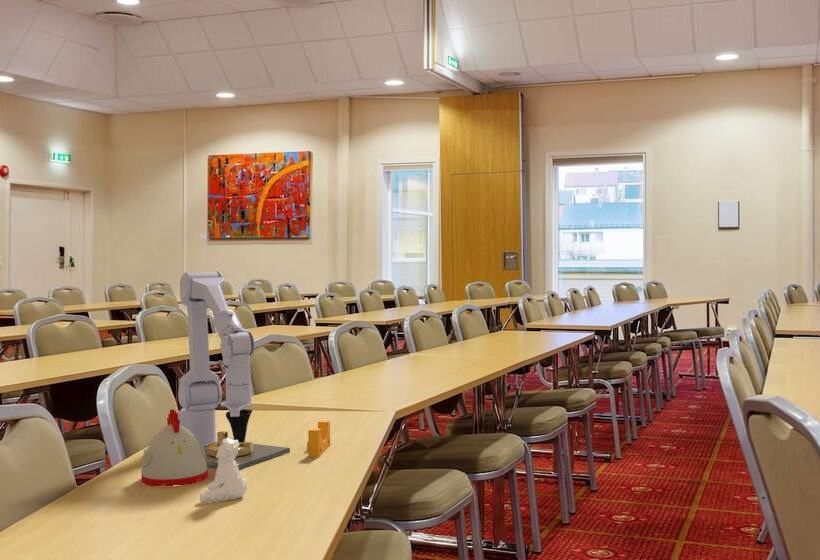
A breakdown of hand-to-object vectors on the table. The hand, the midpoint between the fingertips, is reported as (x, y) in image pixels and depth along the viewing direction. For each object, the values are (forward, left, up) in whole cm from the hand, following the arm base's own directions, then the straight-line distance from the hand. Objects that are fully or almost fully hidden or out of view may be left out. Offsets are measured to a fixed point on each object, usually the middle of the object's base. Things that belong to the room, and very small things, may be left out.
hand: (239, 442), depth 213 cm
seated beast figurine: (+17, -25, -5) cm, 31 cm away
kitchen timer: (-3, -18, -5) cm, 19 cm away
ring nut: (-5, +3, -3) cm, 7 cm away
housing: (-5, +3, -5) cm, 8 cm away
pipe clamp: (+10, +17, -5) cm, 20 cm away
